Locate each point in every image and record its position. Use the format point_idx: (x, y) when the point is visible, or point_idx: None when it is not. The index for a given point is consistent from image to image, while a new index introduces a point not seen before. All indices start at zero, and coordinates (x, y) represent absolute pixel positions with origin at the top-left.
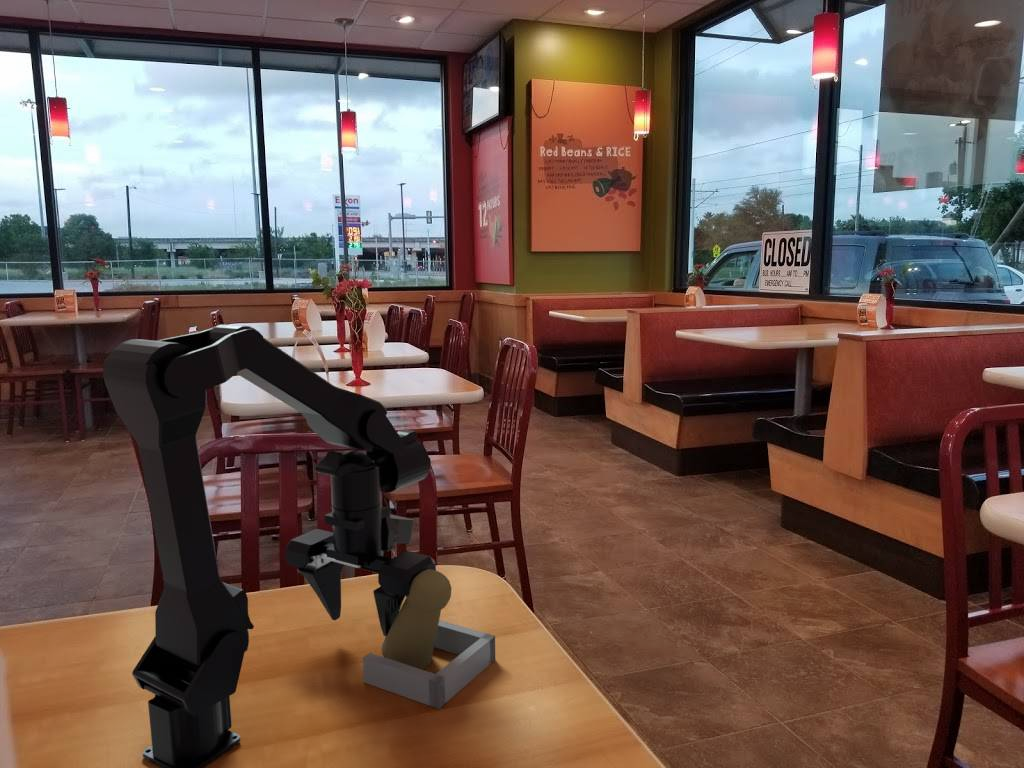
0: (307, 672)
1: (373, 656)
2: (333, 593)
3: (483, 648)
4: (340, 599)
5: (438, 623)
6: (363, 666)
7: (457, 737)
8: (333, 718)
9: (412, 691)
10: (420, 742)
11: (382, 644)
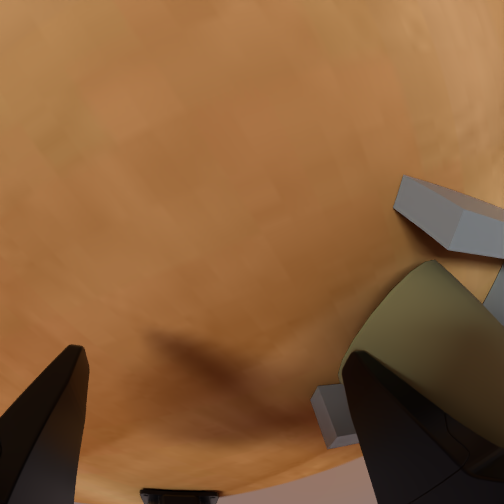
0: (167, 417)
1: (351, 438)
2: (58, 468)
3: None
4: (59, 406)
5: (500, 244)
6: (321, 430)
7: None
8: (302, 451)
9: None
10: None
11: (340, 377)
